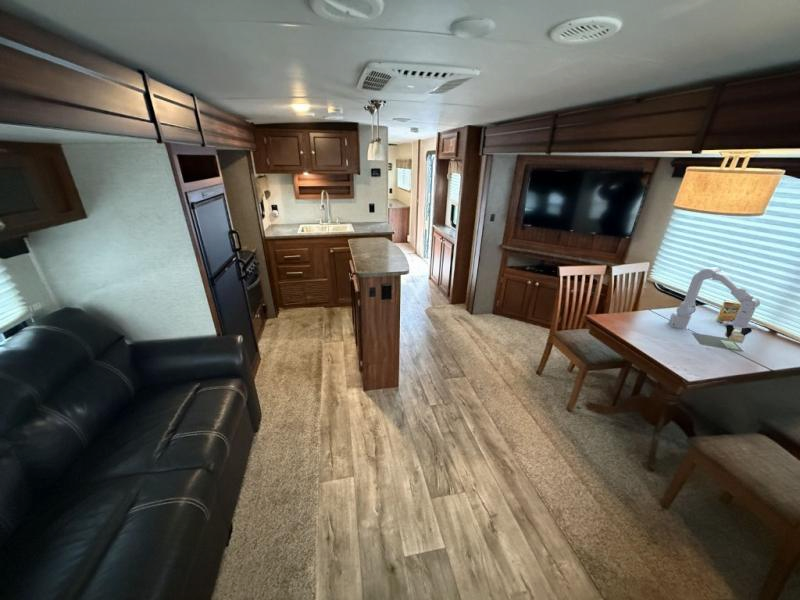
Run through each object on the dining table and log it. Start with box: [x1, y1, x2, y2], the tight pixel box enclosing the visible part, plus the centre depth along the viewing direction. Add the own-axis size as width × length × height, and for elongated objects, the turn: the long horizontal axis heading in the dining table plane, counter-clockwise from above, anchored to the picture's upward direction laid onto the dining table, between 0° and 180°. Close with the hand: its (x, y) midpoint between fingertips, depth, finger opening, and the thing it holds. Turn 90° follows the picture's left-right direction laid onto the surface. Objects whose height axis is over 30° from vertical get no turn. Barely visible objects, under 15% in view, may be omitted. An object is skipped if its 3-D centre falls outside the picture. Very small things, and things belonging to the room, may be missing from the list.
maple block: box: [723, 329, 746, 344], centre depth 185 cm, size 9×5×4 cm, turn 154°
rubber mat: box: [691, 332, 745, 353], centre depth 191 cm, size 20×16×1 cm
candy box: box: [715, 299, 741, 323], centre depth 211 cm, size 9×4×15 cm, turn 49°
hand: (733, 337), depth 185 cm, fingers closed on maple block, 5 cm apart
